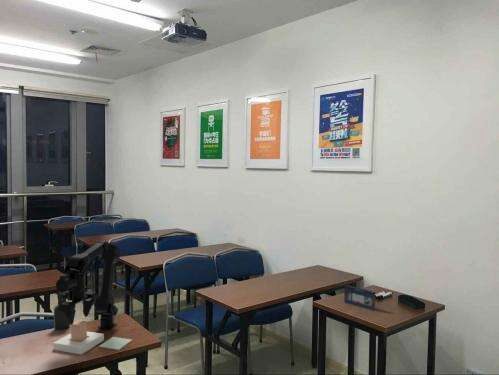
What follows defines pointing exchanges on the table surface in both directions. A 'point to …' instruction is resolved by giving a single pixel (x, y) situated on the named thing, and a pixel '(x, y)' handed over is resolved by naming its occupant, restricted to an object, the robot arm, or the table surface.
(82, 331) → the peg
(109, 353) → the table surface
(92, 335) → the dock
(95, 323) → the table surface
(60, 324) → the battery charger
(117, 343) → the mat
